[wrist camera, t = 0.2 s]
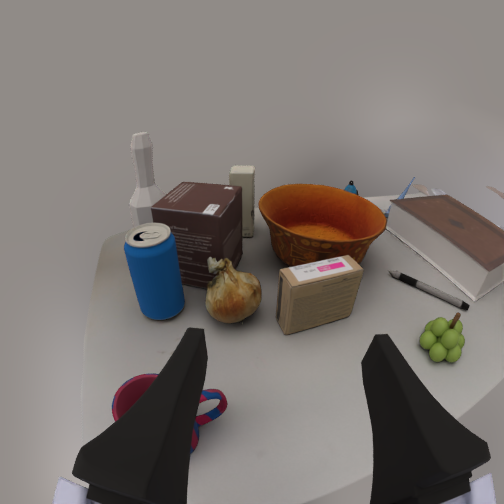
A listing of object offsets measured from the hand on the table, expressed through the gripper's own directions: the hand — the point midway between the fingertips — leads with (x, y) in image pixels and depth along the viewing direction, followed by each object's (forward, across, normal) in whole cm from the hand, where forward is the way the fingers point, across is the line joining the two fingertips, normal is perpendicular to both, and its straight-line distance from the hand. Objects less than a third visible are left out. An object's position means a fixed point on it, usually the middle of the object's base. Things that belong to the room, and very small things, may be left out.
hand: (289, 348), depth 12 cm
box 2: (+43, +5, +20) cm, 48 cm away
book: (+40, -43, +19) cm, 62 cm away
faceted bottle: (+33, +19, +20) cm, 43 cm away
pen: (+25, -28, +19) cm, 42 cm away
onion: (+20, +5, +20) cm, 29 cm away
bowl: (+35, -9, +20) cm, 41 cm away
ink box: (+20, -6, +20) cm, 29 cm away
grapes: (+14, -24, +19) cm, 34 cm away
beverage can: (+20, +15, +20) cm, 32 cm away
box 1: (+30, +10, +20) cm, 38 cm away
